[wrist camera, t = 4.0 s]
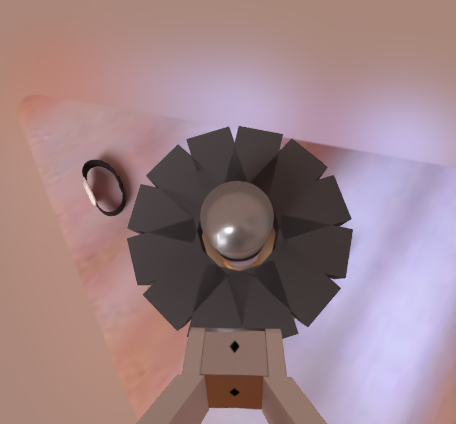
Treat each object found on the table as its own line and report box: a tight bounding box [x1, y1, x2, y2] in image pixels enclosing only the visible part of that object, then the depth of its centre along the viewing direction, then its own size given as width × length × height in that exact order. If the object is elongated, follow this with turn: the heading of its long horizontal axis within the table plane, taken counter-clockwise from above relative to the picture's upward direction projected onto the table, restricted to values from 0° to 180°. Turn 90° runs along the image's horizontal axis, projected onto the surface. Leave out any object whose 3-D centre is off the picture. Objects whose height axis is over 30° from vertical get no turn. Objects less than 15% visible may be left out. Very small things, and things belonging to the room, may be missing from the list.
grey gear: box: [127, 126, 353, 339], centre depth 17 cm, size 11×11×2 cm
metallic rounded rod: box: [200, 181, 274, 271], centre depth 25 cm, size 3×3×24 cm
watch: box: [82, 160, 125, 216], centre depth 40 cm, size 8×5×4 cm, turn 29°
